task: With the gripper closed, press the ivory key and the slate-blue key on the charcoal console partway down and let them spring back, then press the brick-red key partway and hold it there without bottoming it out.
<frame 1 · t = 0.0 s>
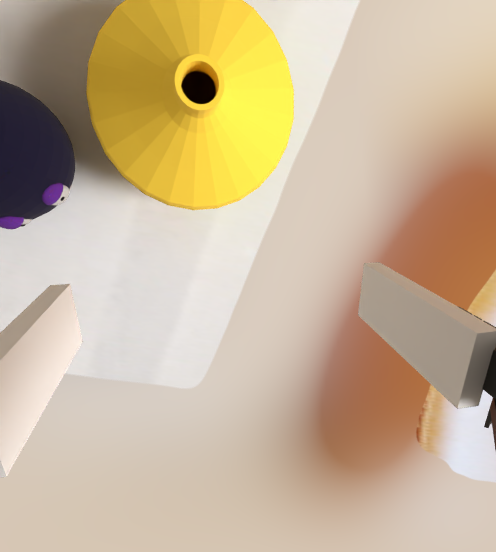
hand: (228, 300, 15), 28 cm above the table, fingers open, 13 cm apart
vase: (194, 117, 37), on the table
toy: (28, 147, 36), on the table
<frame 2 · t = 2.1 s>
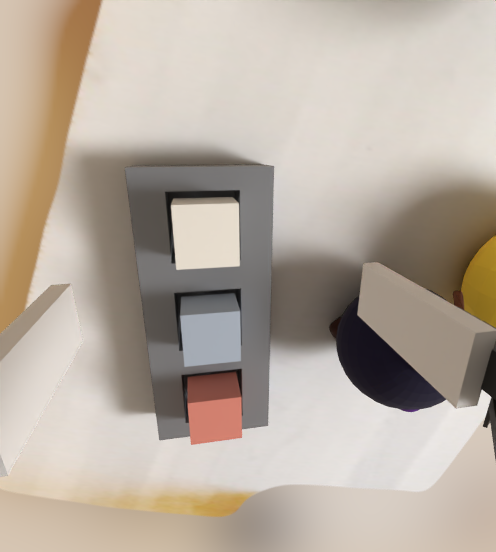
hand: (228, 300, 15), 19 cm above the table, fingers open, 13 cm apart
console: (207, 302, 35), on the table
key ivory: (205, 231, 27), point 6 cm above the table, slide at 0.0 cm
key brick: (214, 406, 33), point 6 cm above the table, slide at 0.0 cm
toy: (360, 306, 39), on the table
key slate: (210, 328, 30), point 6 cm above the table, slide at 0.0 cm
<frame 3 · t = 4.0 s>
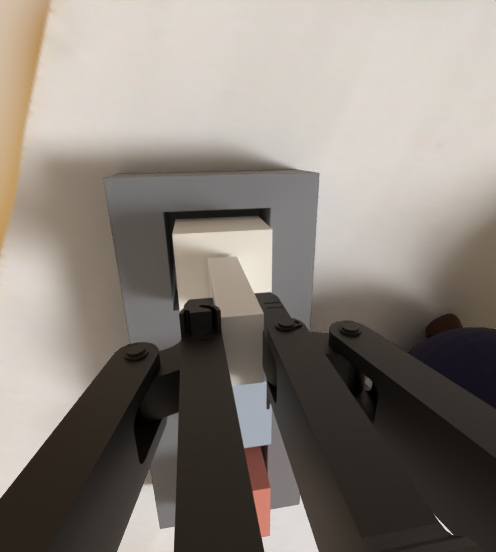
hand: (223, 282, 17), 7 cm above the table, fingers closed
console: (220, 350, 27), on the table
key ivory: (222, 266, 19), point 5 cm above the table, slide at 0.5 cm, touching gripper
key brick: (232, 492, 25), point 6 cm above the table, slide at 0.0 cm
toy: (415, 347, 31), on the table
key slate: (228, 397, 22), point 6 cm above the table, slide at 0.0 cm
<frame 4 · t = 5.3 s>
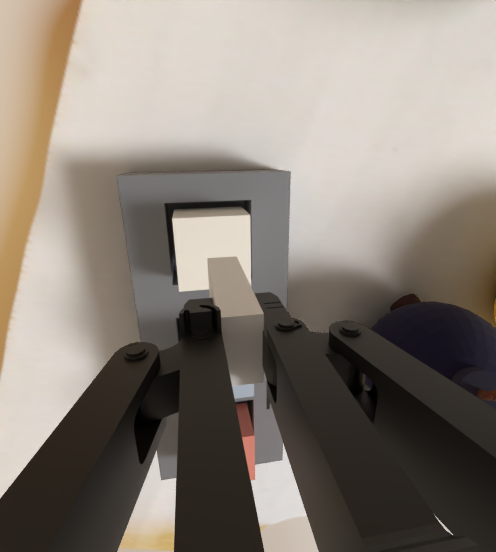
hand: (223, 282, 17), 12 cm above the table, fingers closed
console: (213, 325, 31), on the table
key ivory: (211, 246, 24), point 5 cm above the table, slide at 0.7 cm
key brick: (223, 444, 29), point 6 cm above the table, slide at 0.0 cm
toy: (382, 324, 35), on the table
key slate: (218, 358, 26), point 6 cm above the table, slide at 0.0 cm
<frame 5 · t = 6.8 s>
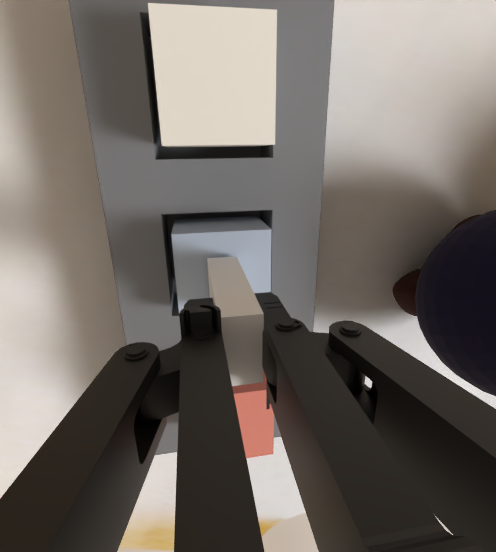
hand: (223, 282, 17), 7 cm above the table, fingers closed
console: (215, 246, 23), on the table
key ivory: (214, 88, 15), point 5 cm above the table, slide at 0.7 cm
key brick: (228, 405, 21), point 6 cm above the table, slide at 0.0 cm
toy: (438, 257, 27), on the table
key slate: (221, 266, 19), point 4 cm above the table, slide at 1.2 cm, touching gripper
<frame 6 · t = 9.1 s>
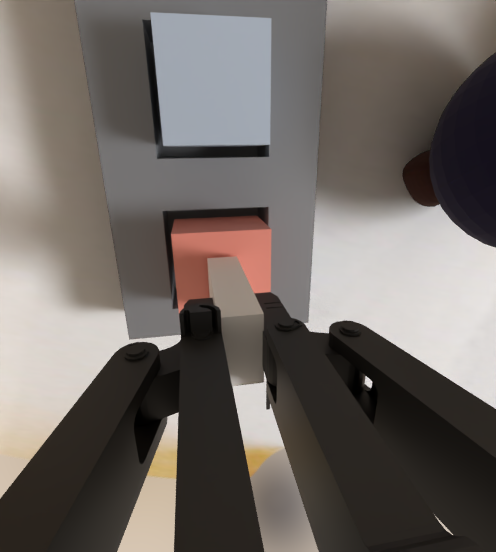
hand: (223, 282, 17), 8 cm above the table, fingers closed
console: (207, 104, 21), on the table
key brick: (221, 266, 19), point 5 cm above the table, slide at 0.2 cm, touching gripper
toy: (452, 137, 24), on the table
key slate: (212, 91, 16), point 5 cm above the table, slide at 0.7 cm
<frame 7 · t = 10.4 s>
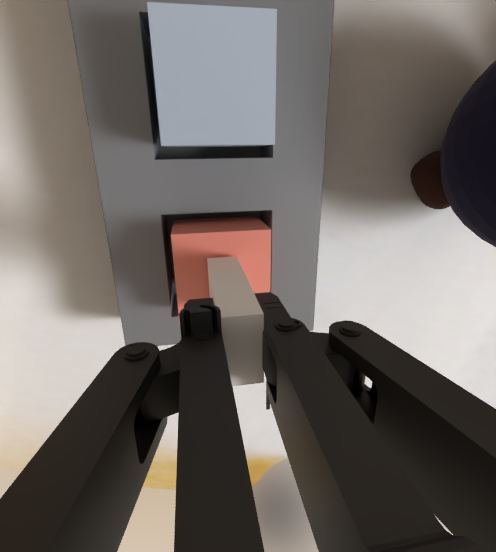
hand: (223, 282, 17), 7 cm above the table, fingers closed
console: (208, 103, 20), on the table
key brick: (220, 266, 19), point 4 cm above the table, slide at 1.3 cm, touching gripper
toy: (462, 137, 23), on the table
key slate: (213, 88, 15), point 5 cm above the table, slide at 0.7 cm
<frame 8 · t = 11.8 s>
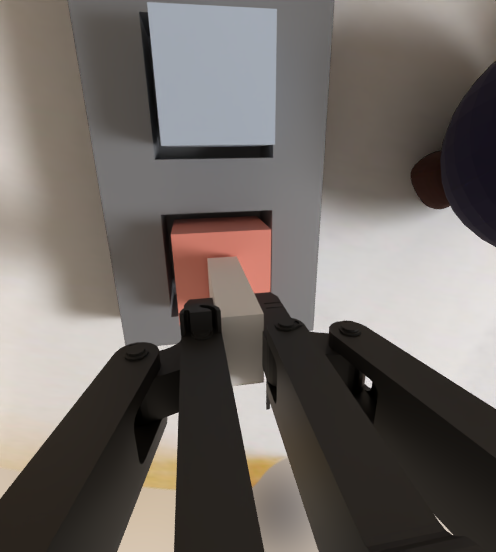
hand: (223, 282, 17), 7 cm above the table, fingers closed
console: (208, 103, 20), on the table
key brick: (220, 266, 19), point 4 cm above the table, slide at 1.3 cm, touching gripper
toy: (462, 137, 23), on the table
key slate: (213, 88, 15), point 5 cm above the table, slide at 0.7 cm
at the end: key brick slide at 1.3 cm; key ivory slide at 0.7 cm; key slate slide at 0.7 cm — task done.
